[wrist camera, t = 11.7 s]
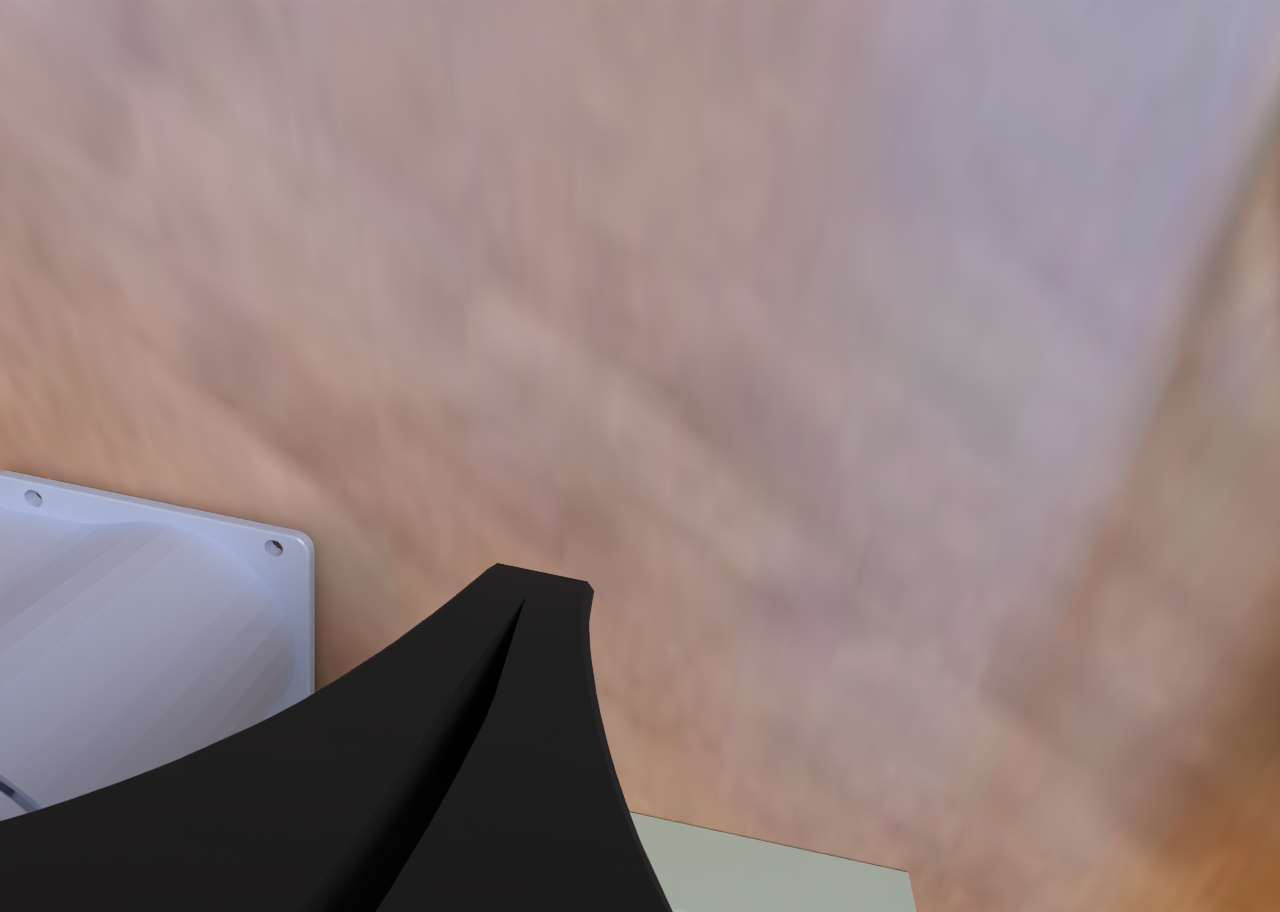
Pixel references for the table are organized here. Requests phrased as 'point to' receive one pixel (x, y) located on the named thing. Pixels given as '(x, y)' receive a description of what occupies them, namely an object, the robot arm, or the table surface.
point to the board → (762, 874)
